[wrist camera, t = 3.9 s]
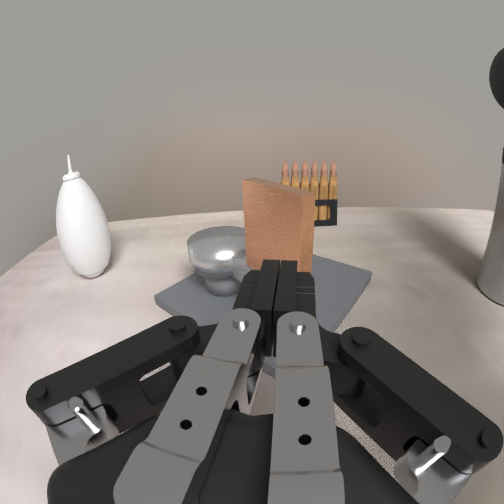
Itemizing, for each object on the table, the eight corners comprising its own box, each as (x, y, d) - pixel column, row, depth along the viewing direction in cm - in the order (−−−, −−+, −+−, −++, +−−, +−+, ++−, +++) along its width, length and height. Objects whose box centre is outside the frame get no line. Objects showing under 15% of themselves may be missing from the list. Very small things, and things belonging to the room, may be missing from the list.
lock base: (258, 245, 43) (257, 221, 42) (370, 280, 33) (375, 251, 31) (156, 304, 30) (148, 274, 29) (290, 386, 20) (294, 353, 18)
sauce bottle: (127, 270, 38) (104, 145, 30) (83, 295, 32) (48, 160, 24) (104, 258, 42) (83, 150, 34) (66, 277, 36) (37, 163, 28)
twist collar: (180, 259, 31) (168, 174, 27) (232, 242, 34) (227, 163, 30) (267, 336, 19) (265, 204, 15) (331, 299, 23) (341, 186, 19)
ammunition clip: (281, 228, 50) (280, 161, 44) (279, 225, 51) (278, 160, 46) (336, 225, 50) (340, 161, 45) (333, 222, 52) (336, 160, 47)
